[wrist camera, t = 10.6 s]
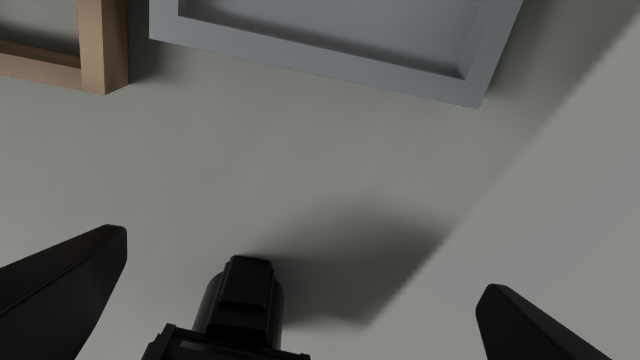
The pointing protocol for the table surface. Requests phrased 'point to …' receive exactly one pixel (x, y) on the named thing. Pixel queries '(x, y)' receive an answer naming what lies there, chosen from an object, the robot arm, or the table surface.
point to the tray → (354, 39)
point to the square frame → (95, 52)
